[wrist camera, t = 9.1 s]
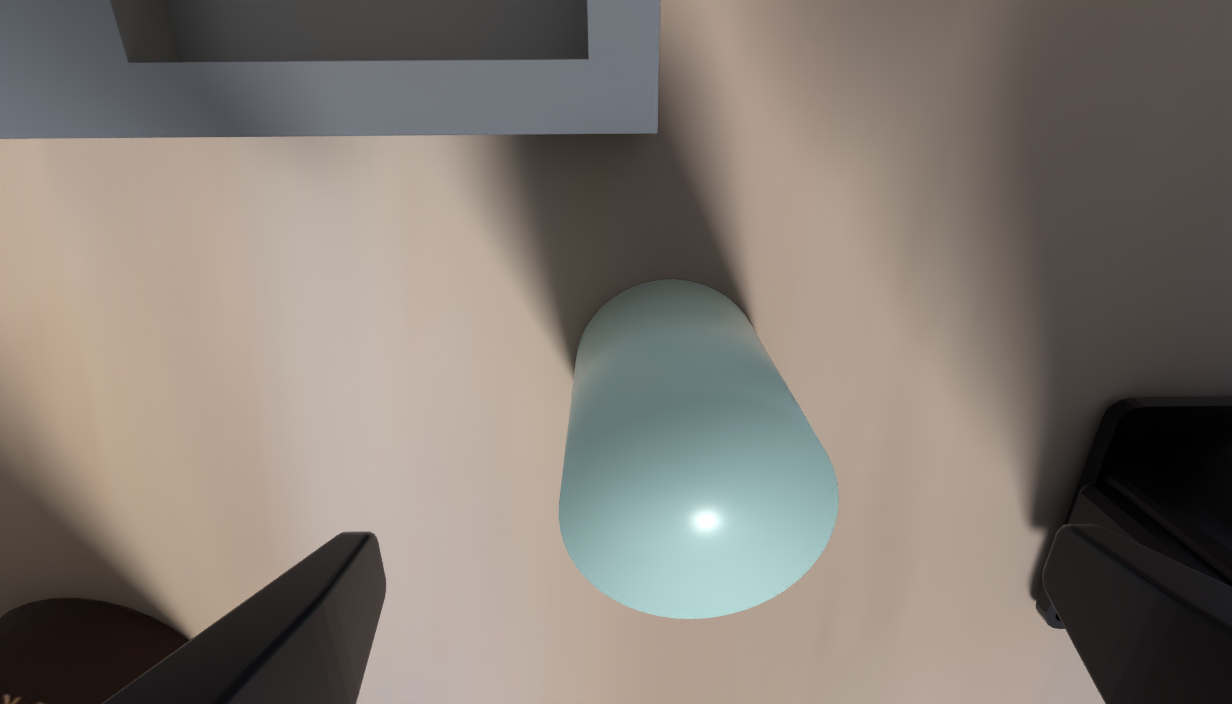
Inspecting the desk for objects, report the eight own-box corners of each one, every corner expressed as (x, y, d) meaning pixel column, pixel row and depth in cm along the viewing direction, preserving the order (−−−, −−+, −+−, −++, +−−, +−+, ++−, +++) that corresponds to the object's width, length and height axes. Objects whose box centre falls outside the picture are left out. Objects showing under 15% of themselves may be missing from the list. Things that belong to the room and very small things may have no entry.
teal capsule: (767, 277, 13) (858, 389, 8) (751, 444, 14) (820, 617, 10) (572, 280, 13) (551, 394, 8) (579, 446, 14) (564, 620, 10)
